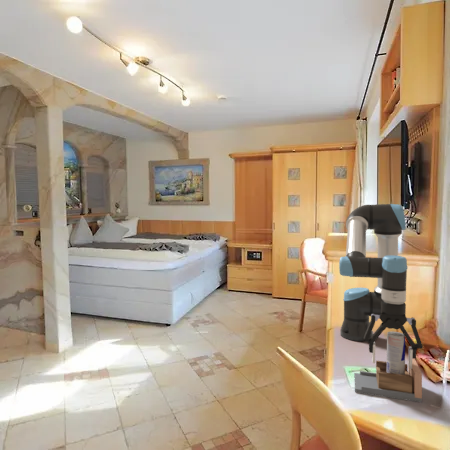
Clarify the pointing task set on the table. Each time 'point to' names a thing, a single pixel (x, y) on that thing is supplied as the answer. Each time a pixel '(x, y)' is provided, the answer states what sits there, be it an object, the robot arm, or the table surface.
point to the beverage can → (395, 353)
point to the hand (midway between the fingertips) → (391, 364)
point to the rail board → (369, 385)
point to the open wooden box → (392, 379)
